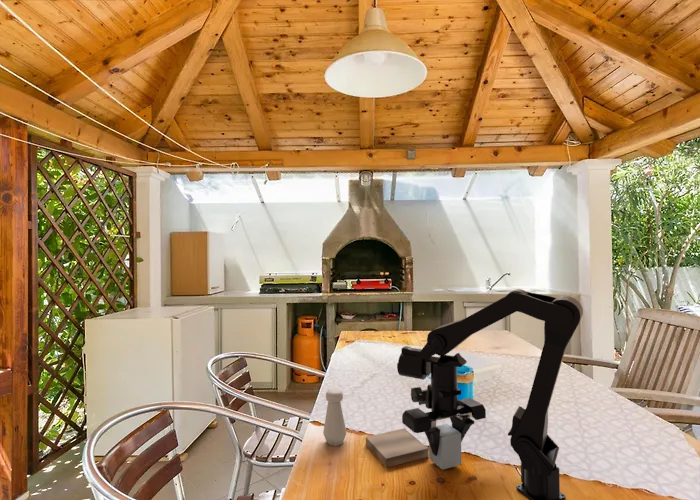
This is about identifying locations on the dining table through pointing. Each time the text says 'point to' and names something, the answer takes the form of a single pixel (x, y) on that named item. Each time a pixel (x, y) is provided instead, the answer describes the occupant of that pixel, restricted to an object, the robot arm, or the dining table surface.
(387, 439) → the walnut plinth
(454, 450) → the slate block
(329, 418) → the salt shaker
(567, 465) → the dining table surface
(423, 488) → the dining table surface
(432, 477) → the dining table surface
